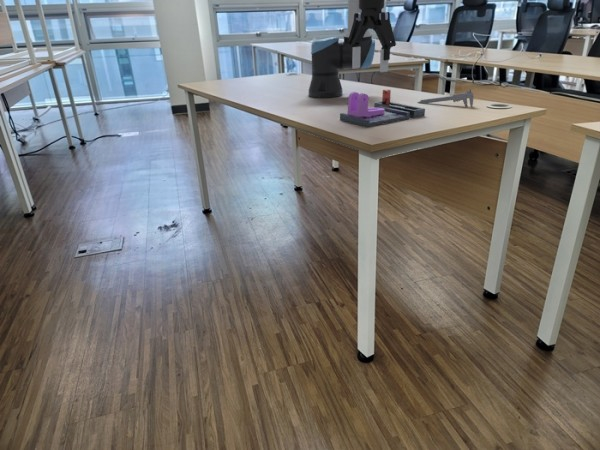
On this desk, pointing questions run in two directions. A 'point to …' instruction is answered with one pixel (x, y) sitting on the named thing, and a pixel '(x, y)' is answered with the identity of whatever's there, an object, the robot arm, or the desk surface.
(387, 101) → the lever
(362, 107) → the bracket
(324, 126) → the desk surface
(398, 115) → the press bed
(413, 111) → the frame
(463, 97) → the caliper
